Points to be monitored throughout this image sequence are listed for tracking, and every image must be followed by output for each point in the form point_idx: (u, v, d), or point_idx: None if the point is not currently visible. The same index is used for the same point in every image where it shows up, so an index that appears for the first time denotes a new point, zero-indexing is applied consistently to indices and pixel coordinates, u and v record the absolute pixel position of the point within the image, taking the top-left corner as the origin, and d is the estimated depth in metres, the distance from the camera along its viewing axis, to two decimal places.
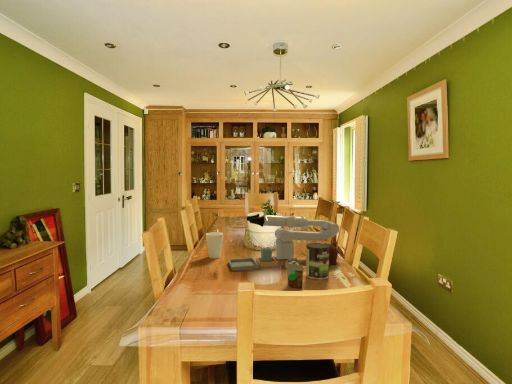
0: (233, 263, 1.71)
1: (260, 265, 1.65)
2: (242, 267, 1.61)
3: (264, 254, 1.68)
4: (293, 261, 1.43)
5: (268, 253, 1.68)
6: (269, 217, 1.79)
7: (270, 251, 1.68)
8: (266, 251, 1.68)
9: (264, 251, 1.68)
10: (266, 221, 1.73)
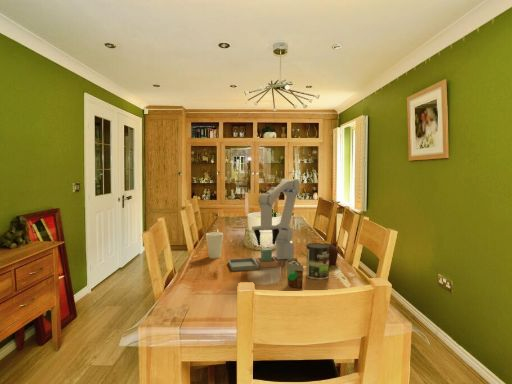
0: (233, 263, 1.71)
1: (260, 265, 1.65)
2: (242, 267, 1.61)
3: (264, 254, 1.68)
4: (293, 261, 1.43)
5: (268, 253, 1.68)
6: (271, 223, 1.68)
7: (270, 251, 1.68)
8: (266, 251, 1.68)
9: (264, 251, 1.68)
10: None
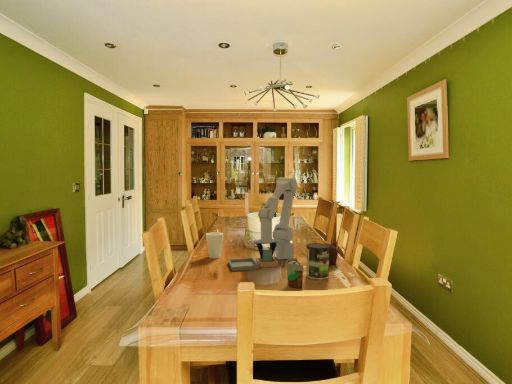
0: (233, 263, 1.71)
1: (260, 265, 1.65)
2: (242, 267, 1.61)
3: (264, 254, 1.68)
4: (293, 261, 1.43)
5: (268, 253, 1.68)
6: (271, 237, 1.68)
7: (270, 251, 1.68)
8: (266, 251, 1.68)
9: (264, 251, 1.68)
10: None
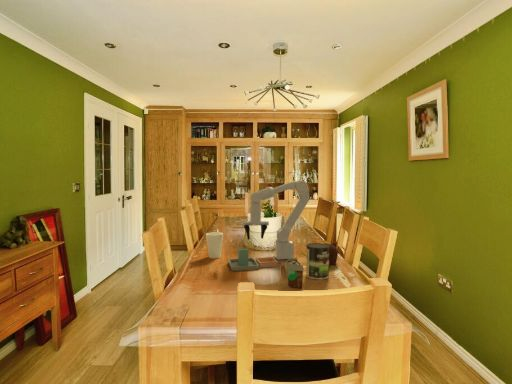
0: (233, 263, 1.71)
1: (260, 265, 1.65)
2: (242, 267, 1.61)
3: (240, 254, 1.65)
4: (293, 261, 1.43)
5: (244, 253, 1.66)
6: (259, 219, 1.82)
7: (247, 251, 1.66)
8: (242, 251, 1.65)
9: (240, 251, 1.65)
10: None
